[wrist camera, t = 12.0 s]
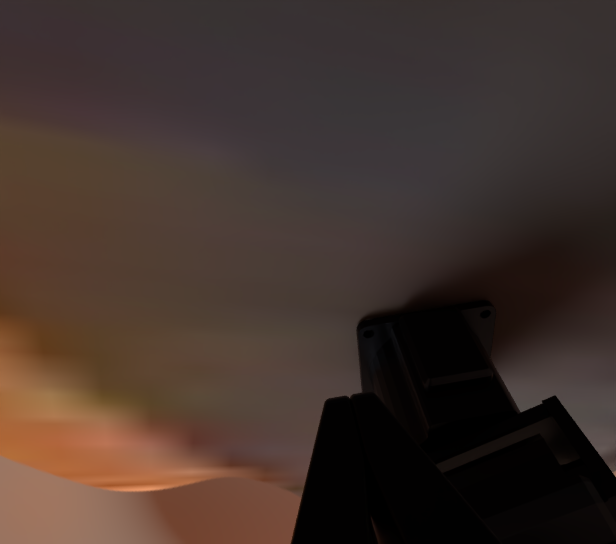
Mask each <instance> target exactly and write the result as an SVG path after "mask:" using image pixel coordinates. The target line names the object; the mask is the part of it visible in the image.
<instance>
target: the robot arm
mask: <svg viewBox="0 0 616 544" xmlns="http://www.w3.org/2000/svg"><path fill="white" fill-rule="evenodd" d="M485 310H486V311H485ZM483 311H485V312H483ZM481 312H483V313H481ZM495 316H496V309H495V308H494V306H493V305H492V303H491V302H489V301H478V302H472V303H466V304H460V305H454V306H448V307H442V308H436V309H430V310H425V311H419V312H413V313H407V314H401V315H395V316H389V317H383V318H377V319H371V320H366V321H363V322H361V323H360V324H359V325H358V326H357V330H356V331H357V342H358V353H359V364H360V375H361V386H362V393H357V394H353V395H352V396H351V397H350V398H349V397H348V396H340V397H334V398H329V399H327V400H326V401H325V403H324V407H323V411H322V415H321V419H320V423H319V427H318V432H317V436H316V440H315V444H314V448H313V453H312V457H311V461H310V465H309V469H308V473H307V478H306V482H305V486H304V490H303V494H302V498H301V503H300V507H299V511H298V515H297V519H296V524H295V528H294V532H293V536H292V540H291V544H616V477H615V476H614V474H613V473H612V471H611V470H610V469H609V467H608V466H607V464H606V463H605V462H604V460H603V459H602V458H601V456H600V455H599V454H598V452H597V451H596V450H595V448H594V447H593V446H592V444H591V443H590V441H589V440H588V439H587V437H586V436H585V435H584V433H583V432H582V431H581V429H580V428H579V427H578V425H577V424H576V423H575V421H574V420H573V419H572V417H571V416H570V415H569V413H568V412H567V410H566V409H565V408H564V406H563V405H562V404H561V402H560V401H559V400H558V398H557V397H556V396H552V397H550V398H548V399H545V400H543V401H542V404H540V405H537V406H535V407H533V408H530V409H528V410H526V411H523V412H520V410H519V409H518V407H517V405H516V403H515V401H514V400H513V398H512V396H511V394H510V393H509V391H508V389H507V387H506V385H505V384H504V382H503V380H502V378H501V377H500V375H499V373H498V371H497V370H496V368H495V366H494V364H493V362H492V361H491V359H490V356H491V348H492V340H493V332H494V324H495ZM367 330H371V331H370V332H365V331H367Z"/></svg>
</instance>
